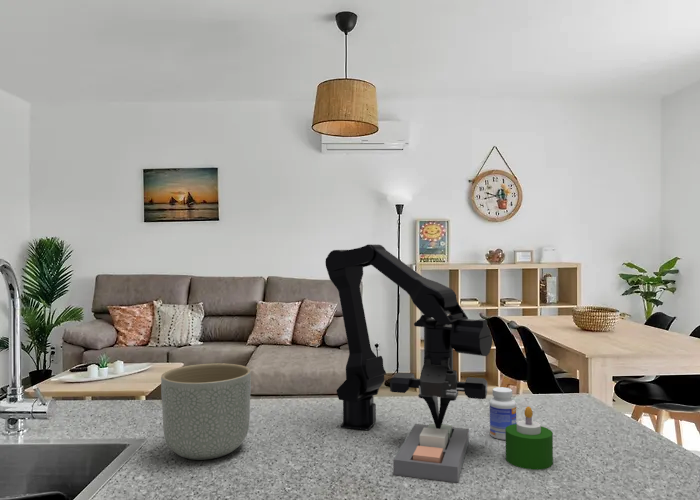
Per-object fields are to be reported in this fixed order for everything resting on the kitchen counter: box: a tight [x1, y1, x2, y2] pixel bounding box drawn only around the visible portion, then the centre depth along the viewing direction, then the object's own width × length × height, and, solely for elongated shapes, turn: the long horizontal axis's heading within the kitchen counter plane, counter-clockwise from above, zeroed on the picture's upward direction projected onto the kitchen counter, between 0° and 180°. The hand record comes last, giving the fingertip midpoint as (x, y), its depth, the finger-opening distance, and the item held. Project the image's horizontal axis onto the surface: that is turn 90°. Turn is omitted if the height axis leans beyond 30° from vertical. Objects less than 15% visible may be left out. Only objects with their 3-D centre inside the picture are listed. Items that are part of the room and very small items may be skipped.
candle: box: [505, 406, 554, 471], centre depth 99 cm, size 8×8×10 cm
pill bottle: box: [489, 386, 517, 441], centre depth 112 cm, size 5×5×10 cm
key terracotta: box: [413, 446, 443, 463], centre depth 95 cm, size 5×5×2 cm
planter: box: [160, 362, 252, 461], centre depth 105 cm, size 17×17×15 cm
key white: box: [420, 427, 448, 450], centre depth 101 cm, size 5×5×2 cm
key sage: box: [427, 423, 453, 438], centre depth 107 cm, size 5×5×2 cm
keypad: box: [392, 423, 470, 484], centre depth 101 cm, size 11×20×3 cm, turn 162°
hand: (438, 428), depth 107 cm, fingers closed, pressing on key sage
